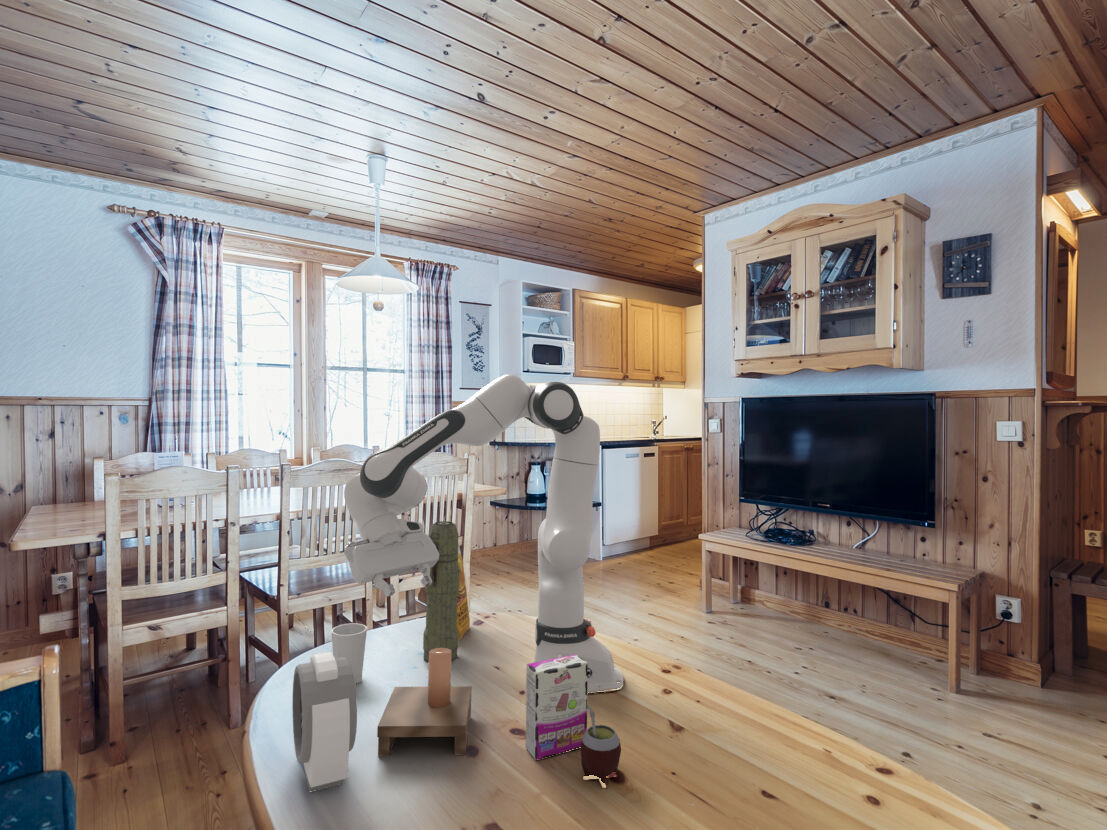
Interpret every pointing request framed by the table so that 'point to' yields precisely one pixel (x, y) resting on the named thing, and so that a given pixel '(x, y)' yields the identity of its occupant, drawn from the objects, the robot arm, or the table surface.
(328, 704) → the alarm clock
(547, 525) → the robot arm
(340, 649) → the cup
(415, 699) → the walnut shelf
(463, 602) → the pancake mix bag
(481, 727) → the table surface
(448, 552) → the thermos
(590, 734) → the mate gourd
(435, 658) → the peach cylinder
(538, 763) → the table surface
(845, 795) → the table surface
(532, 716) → the candy bar box
